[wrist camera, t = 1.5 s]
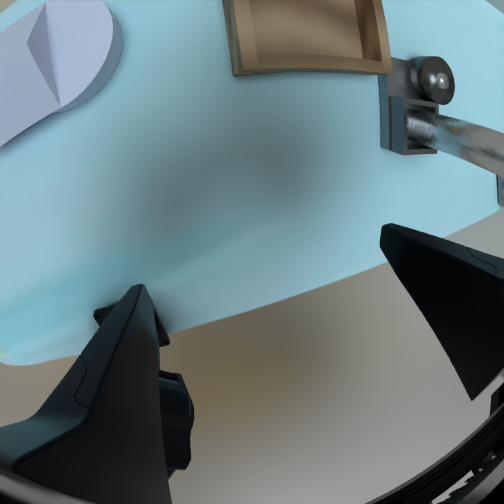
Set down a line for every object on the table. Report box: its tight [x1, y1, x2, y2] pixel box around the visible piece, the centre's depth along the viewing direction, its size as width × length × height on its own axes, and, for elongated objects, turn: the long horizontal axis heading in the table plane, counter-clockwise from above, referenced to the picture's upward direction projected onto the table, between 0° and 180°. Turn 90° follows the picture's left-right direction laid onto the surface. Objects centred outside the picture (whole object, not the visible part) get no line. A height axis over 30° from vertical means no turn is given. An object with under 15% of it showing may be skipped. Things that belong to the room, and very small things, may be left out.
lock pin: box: [407, 108, 504, 178], centre depth 15 cm, size 4×4×14 cm
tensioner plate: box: [378, 56, 455, 155], centre depth 19 cm, size 10×8×4 cm
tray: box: [222, 0, 392, 76], centre depth 13 cm, size 12×12×3 cm
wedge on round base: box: [0, 0, 123, 147], centre depth 9 cm, size 9×7×13 cm
